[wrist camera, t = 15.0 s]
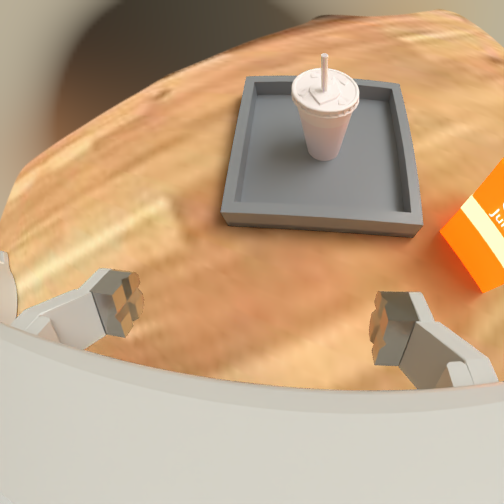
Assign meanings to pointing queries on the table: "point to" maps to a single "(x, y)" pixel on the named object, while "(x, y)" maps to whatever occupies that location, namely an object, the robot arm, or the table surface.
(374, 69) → the table surface
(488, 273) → the orange juice
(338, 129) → the smoothie
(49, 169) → the table surface
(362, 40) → the table surface
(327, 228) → the tray
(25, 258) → the table surface
